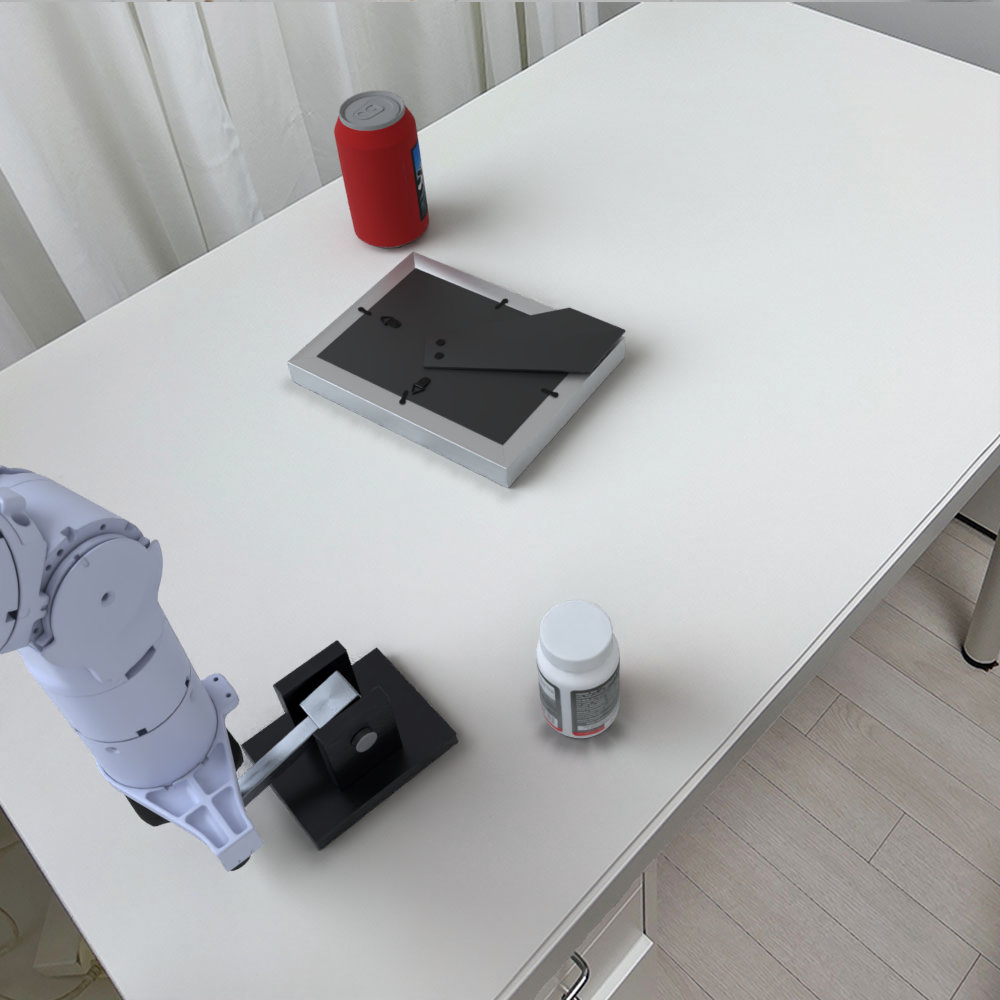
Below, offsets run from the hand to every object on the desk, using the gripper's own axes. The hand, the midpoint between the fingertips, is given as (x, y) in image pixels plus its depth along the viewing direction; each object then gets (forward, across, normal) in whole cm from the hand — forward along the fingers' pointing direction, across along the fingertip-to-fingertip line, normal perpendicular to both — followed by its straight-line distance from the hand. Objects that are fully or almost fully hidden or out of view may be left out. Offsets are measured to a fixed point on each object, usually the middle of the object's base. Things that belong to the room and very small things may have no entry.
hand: (210, 813), depth 60 cm
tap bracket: (+4, 0, -9) cm, 9 cm away
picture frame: (+4, +21, -34) cm, 40 cm away
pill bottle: (+4, -7, -21) cm, 22 cm away
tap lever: (+1, 0, -5) cm, 5 cm away
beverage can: (+4, +39, -41) cm, 56 cm away
